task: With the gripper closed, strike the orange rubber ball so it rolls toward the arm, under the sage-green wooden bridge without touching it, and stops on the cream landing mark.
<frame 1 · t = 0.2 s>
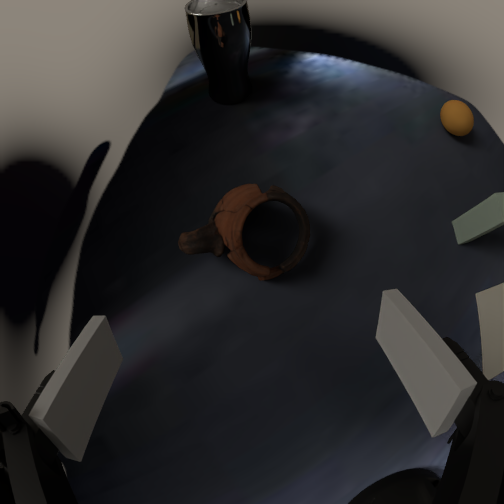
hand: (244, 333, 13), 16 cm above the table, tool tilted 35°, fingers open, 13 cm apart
beer glass: (230, 91, 36), on the table
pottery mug: (245, 239, 30), on the table
ball: (457, 117, 30), on the table
bridge: (488, 226, 29), on the table
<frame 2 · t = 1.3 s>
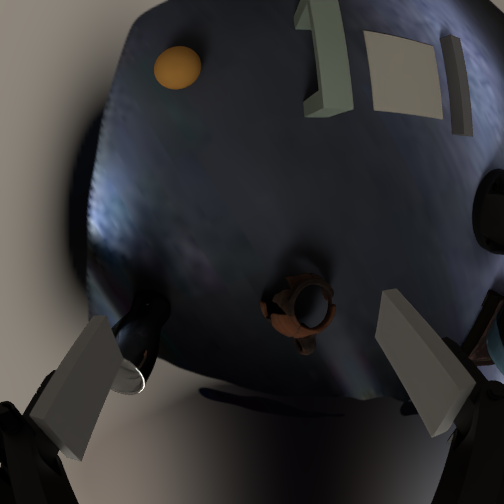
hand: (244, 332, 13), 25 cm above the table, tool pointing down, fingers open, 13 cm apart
beer glass: (152, 307, 41), on the table
stopper: (452, 85, 29), on the table
landing mark: (406, 74, 29), on the table
diary: (496, 325, 47), on the table
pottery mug: (295, 302, 42), on the table
ball: (177, 67, 27), on the table
bridge: (311, 64, 30), on the table
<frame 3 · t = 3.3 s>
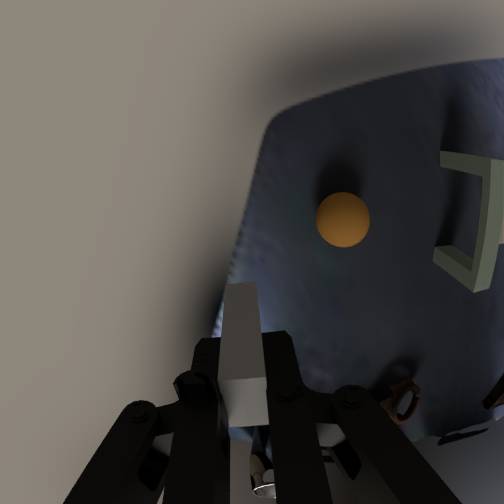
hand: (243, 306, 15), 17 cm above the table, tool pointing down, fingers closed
beer glass: (269, 412, 42), on the table
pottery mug: (384, 393, 42), on the table
ball: (343, 219, 28), on the table
bridge: (446, 207, 30), on the table
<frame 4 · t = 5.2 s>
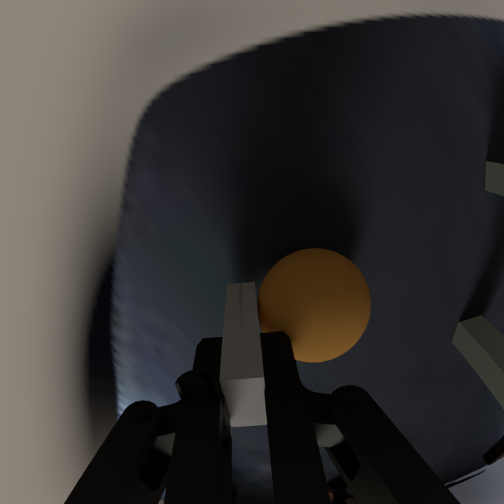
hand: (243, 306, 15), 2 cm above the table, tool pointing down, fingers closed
beer glass: (213, 491, 28), on the table
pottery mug: (359, 477, 28), on the table
ball: (314, 305, 13), on the table, touching gripper
bridge: (486, 259, 16), on the table
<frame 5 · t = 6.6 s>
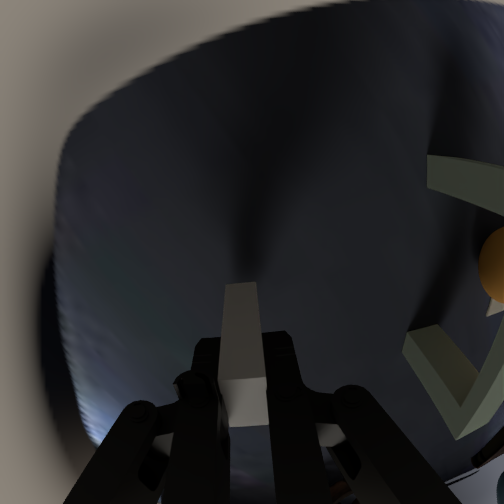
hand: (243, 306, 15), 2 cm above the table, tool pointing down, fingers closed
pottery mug: (324, 482, 29), on the table
bridge: (436, 264, 16), on the table
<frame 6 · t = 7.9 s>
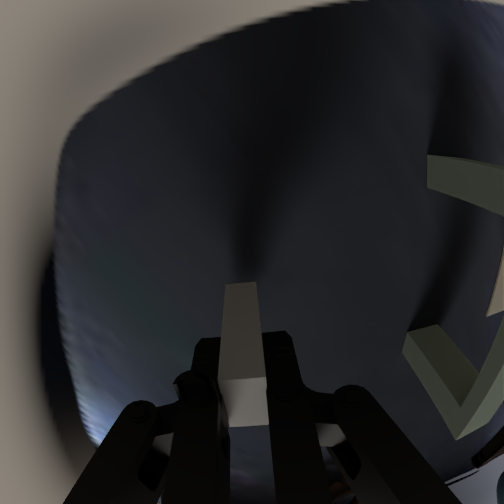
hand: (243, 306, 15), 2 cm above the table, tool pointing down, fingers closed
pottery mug: (320, 483, 29), on the table
bridge: (436, 264, 16), on the table
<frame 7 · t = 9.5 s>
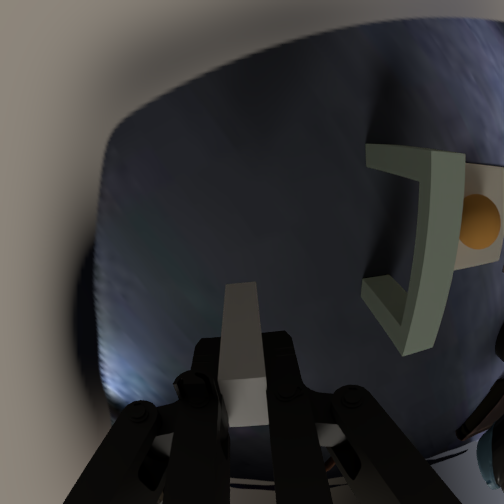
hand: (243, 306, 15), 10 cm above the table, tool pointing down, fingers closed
landing mark: (479, 217, 24), on the table
diary: (499, 396, 43), on the table
ball: (477, 221, 22), on the table
bridge: (380, 224, 24), on the table
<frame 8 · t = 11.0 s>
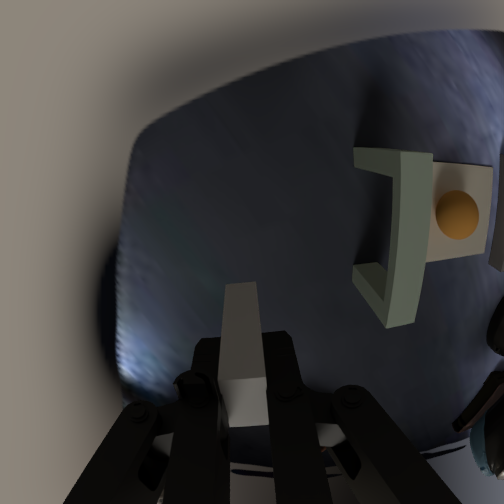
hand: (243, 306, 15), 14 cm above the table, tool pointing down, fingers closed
stopper: (500, 210, 28), on the table
landing mark: (461, 212, 28), on the table
diary: (495, 390, 46), on the table
ball: (457, 214, 25), on the table
bridge: (367, 217, 28), on the table
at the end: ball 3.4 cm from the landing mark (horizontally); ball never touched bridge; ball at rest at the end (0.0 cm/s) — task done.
